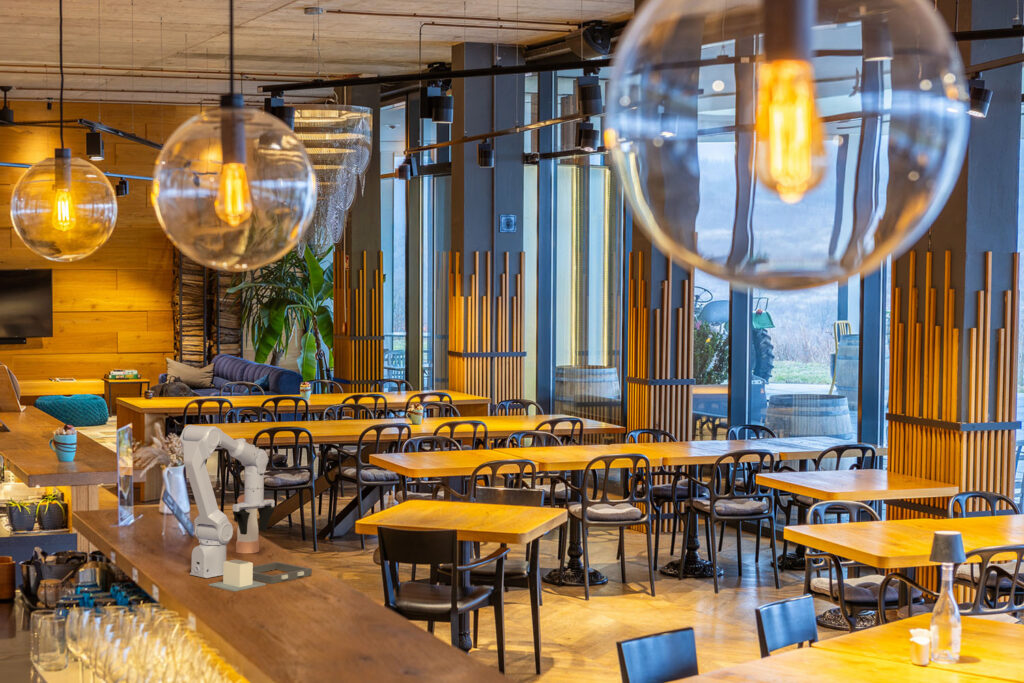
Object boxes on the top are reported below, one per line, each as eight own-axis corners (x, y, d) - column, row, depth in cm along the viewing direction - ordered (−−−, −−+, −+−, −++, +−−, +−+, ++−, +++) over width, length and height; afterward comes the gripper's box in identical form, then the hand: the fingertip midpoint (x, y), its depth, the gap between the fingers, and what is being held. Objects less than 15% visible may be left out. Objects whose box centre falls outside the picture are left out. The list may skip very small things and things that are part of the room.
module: (239, 587, 312) (239, 564, 312) (223, 583, 316) (223, 561, 316) (252, 584, 316) (252, 562, 316) (236, 580, 320) (236, 558, 320)
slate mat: (234, 591, 308) (234, 590, 308) (208, 585, 315) (208, 584, 315) (265, 585, 317) (265, 583, 317) (240, 579, 324) (240, 577, 324)
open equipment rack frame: (272, 584, 318) (273, 577, 318) (236, 576, 328) (236, 569, 328) (313, 575, 330) (313, 569, 330) (277, 568, 340) (277, 561, 340)
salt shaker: (256, 553, 362) (257, 493, 362) (233, 553, 362) (234, 493, 362) (261, 549, 369) (262, 490, 369) (239, 549, 369) (240, 490, 369)
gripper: (243, 491, 338) (242, 537, 338) (281, 486, 349) (280, 531, 349) (228, 489, 342) (227, 534, 342) (266, 484, 354) (265, 528, 354)
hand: (253, 532), depth 346 cm, fingers open, 7 cm apart
